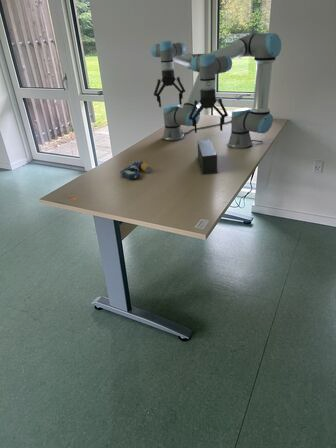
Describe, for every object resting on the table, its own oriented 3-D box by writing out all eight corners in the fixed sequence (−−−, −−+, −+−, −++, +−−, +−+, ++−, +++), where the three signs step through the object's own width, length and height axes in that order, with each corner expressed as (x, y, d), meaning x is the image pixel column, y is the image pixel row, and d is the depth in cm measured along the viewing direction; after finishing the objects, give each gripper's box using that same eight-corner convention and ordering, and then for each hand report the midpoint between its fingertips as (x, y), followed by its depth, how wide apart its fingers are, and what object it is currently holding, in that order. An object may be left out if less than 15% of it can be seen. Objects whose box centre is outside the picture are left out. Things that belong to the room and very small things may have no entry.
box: (198, 157, 210) (197, 140, 205) (210, 156, 210) (210, 139, 205) (202, 174, 187) (202, 156, 181) (217, 173, 187) (217, 155, 181)
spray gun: (156, 167, 200) (135, 165, 206) (156, 160, 198) (134, 158, 204) (139, 182, 185) (117, 179, 191) (138, 174, 183) (115, 172, 189)
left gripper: (149, 72, 199) (152, 109, 210) (189, 67, 203) (190, 104, 214) (146, 71, 205) (150, 106, 216) (185, 66, 210) (187, 101, 221)
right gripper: (183, 92, 164) (185, 135, 175) (234, 88, 164) (233, 131, 175) (182, 89, 171) (184, 131, 182) (231, 85, 170) (230, 127, 181)
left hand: (170, 105), depth 215 cm, fingers open, 13 cm apart
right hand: (208, 131), depth 178 cm, fingers open, 13 cm apart
